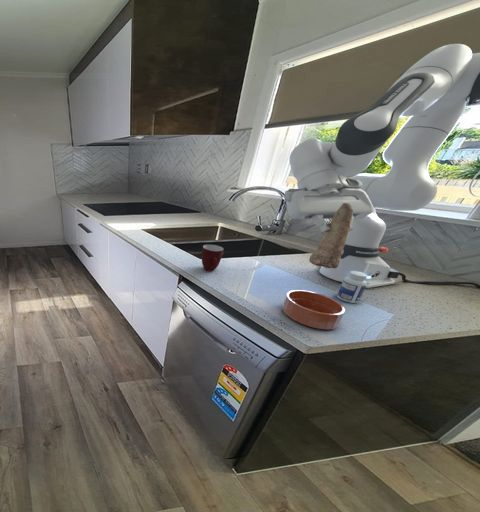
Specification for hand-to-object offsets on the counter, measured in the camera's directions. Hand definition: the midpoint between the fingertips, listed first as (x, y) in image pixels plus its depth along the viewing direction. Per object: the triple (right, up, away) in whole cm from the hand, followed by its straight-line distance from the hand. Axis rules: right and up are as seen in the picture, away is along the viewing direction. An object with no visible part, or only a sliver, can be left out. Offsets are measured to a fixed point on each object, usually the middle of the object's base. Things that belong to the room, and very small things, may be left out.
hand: (337, 231), depth 64 cm
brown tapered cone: (0, -9, +5) cm, 10 cm away
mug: (-15, -13, +40) cm, 45 cm away
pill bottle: (+21, -22, +18) cm, 35 cm away
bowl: (0, -25, +9) cm, 27 cm away
